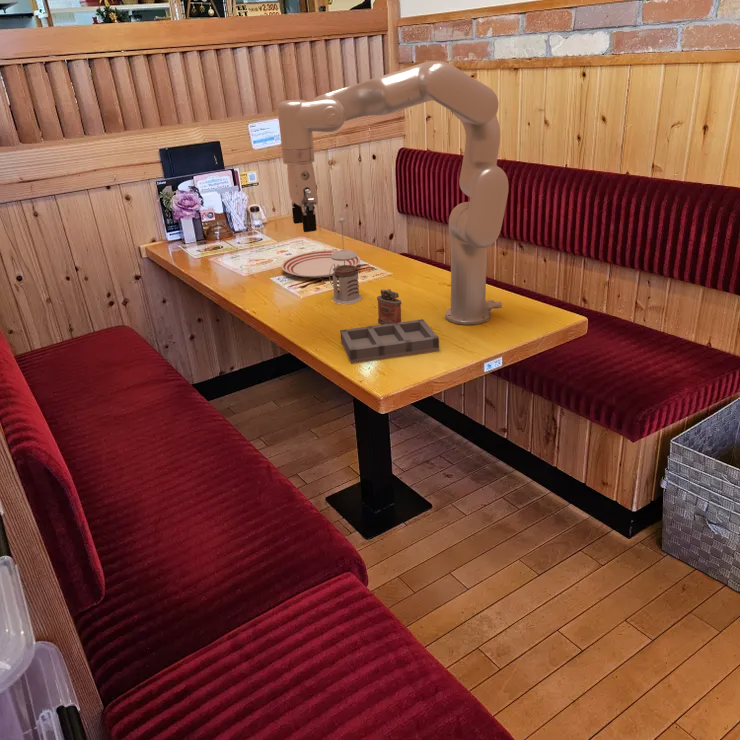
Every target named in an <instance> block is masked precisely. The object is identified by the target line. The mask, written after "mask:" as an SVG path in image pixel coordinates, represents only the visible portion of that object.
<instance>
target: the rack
mask: <svg viewBox="0 0 740 740" xmlns="http://www.w3.org/2000/svg"><path fill="white" fill-rule="evenodd" d="M339 331H340V332H339V334H340V342H341V343H340V344H341V345H342V348H343V349H344V351H345V354H346V356H347V358H348V359H349V362H350V363H351V364H357V363H365V362H372V361H379V360H384V359H385V360H386V359H393V358H399V357H406V356H407V357H408V356H413V355H422V354H427V353H434V352H435V353H437V352H439V351H440V338H439V336H437V334H436V333H435V332H434V331H433V330H432V328H431V327H430V326H429V325H428V323H427V322H426V321H425V319H423V318H422V319H415V320H414V319H413V320H408V321H401V322H398V323H391V324H383V325H381V324H377V325H376V324H375V325H368V326H362V327H356V328H355V327H353V328H346V329H340V330H339Z"/></svg>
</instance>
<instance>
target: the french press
mask: <svg viewBox="0 0 740 740" xmlns="http://www.w3.org/2000/svg"><path fill="white" fill-rule="evenodd" d="M345 222H346V220H345V218H344V217H340V218H338V223H341V225H343V223H345ZM343 231H344V229H343V227H341V234H342V235H341V237H342V240H344V232H343ZM336 251H337V252H335V253H333V254H332V255H331V259H333V260H336V261H344V265H341V266H338V265H339V264H338V265H337V266H336V267H335V264H333V265H334V267H335V268H334V269H333V271H334V273H333V276H332V281H331V277H330V273H329V277H328V278H329V282H330V285H331V286H332V287H333V296H332V297H331V299H332V300H333V301H334V302H336V303H341V304H340V305H342V304H346V305H353V304H352V303H354V304H357V303H360V302H361V301H363V299H362V297H363V296H362V295H361V294H360V293H359V292H360V289H359V288H360V285H359V272H358V271H357V269H358V267H357V266H356V267H355V266H353V265H345V260H351V259H354V258H356V257H357V255H358V253H356V252H355V251H353V250H351V249H350V250H349V249H345V245H344V242H342V249H340V250H336ZM333 265H332V266H333ZM332 266H331V268H332ZM331 268H330V271H331ZM360 300H361V301H360ZM359 301H360V302H359ZM356 302H357V303H356ZM336 303H335V304H336Z"/></svg>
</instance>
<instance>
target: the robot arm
mask: <svg viewBox="0 0 740 740" xmlns="http://www.w3.org/2000/svg"><path fill="white" fill-rule="evenodd" d="M431 101H434V102H436V103H438V104H439V105H441V106H443V107H444V108H446V109H447V110H449V111H451V112H452V114H453V115H454V116H455V118H456V119H458V120H459V121H460V122H461V124H462V125H463V128H464V133H465V143H464V151H463V156H462V157H463V158H462V164H461V169H460V173H459V174H460V175H459V180H458V183H459V185H458V186H459V188H460V190H461V192H462V193H463V194H464V195H466V196H467V197H469V201H464V202H461V203H459V204H457V205H456V206H455V207H454V208H453V209H452V210H451V212H450V214H449V218H448V234H449V243H450V308H447V310H446V311H445V313H444V317H445V319H446V320H447V321H449V322H451V323H452V324H457V325H465V326H467V325H469V326H473V325H478V324H482V323H485V322H487V321H489V320H490V318H491V311H492V310H494V309H495V310H496V309H502V308H503V303H502V301H501V300H500V301H495V300H494V299H491V300H487V299H486V294H487V293H486V292H487V291H486V290H487V289H486V285H487V261H488V260H487V259H488V257H487V255H488V254H487V251H488V250H487V248H488V247H490V246H492V245H493V244H494V243H495V242H496V241H497V239H498V237H499V235H500V233H501V231H502V227H503V220H504V217H505V216H504V215H505V210H506V207H507V201H508V195H509V186H510V185H509V180H508V176H507V173H506V172H505V171H504V170H503V169H502V167H499V166H498V157H499V150H500V145H501V144H500V143H501V128H500V124H499V123H500V122H499V120H498V117H497V113H498V111H499V98H498V95H497V94H496V93H495V91H494V90H493V89H492V88H491V87H489V86H488V85H486V84H484V83H482V82H481V81H479V80H477V79H475V78H474V77H472V76H470V75H469V74H467V73H465V72H464V71H462V70H461V69H459V68H458V67H456V66H453V65H452V64H450V63H449V62H446V61H442V60H441V61H440V60H439V61H438V60H429V61H424V62H420V63H418V64H415V65H412V66H409V67H405V68H403V69H399V70H396V71H393V72H390V73H387V74H384V75H380V76H377V77H373V78H370V79H367V80H366V81H362V82H359V83H356V84H355V83H354V84H352V85H349V86H346V87H342V88H339V89H337V90H333V91H330V92H326V93H324V94H320V95H317V96H316V97H314V98H313V99H312V100H310V101H307V100H305V99H289V100H288V99H287V100H282V101H280V102H279V103H278V105H277V114H278V115H277V117H278V124H279V133H280V143H281V153H282V163H283V164H284V165H287V166H286V167H287V168H286V170H287V183H288V193H289V198H290V200H291V207H292V208H291V210H292V221H293V224H294V225H296V224H302V231H303V232H304V233H310V232H311V233H312V232H317V229H318V228H317V219H316V211H315V210H316V207H315V206H316V205H317V204H318V202H319V197H318V190H317V183H316V181H317V180H316V176H315V169H314V164H313V163H314V162H315V150H314V135H313V132H317V133H318V132H319V133H334V132H337V131H338V130H340V129H341V128H342V127H343V125H344V124H345V122H348V121H350V120H354V119H357V118H361V117H363V118H364V117H368V116H369V117H370V116H373V117H374V116H385V115H391V114H394V113H397V112H399V111H402V110H405V109H408V108H411V107H414V106H418V105H421V104H425V103H427V102H431Z"/></svg>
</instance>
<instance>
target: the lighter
mask: <svg viewBox="0 0 740 740" xmlns="http://www.w3.org/2000/svg"><path fill="white" fill-rule="evenodd" d="M399 298H400V297H399V293H398V292H397V291H392V290H391V289H390V288H387V289H384V288H383V289H382V288H381V289H380V295H378V296H377V297H376V300H377V309H378V310H377V311H378V314H377V315H378V319H377V323H378V324H379V323H380V324H379V325H383V324H391V323H398V322H402V310H401V309H402V307H401V306H402V300H400V299H399Z"/></svg>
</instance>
